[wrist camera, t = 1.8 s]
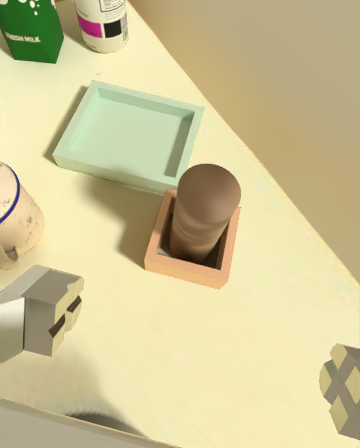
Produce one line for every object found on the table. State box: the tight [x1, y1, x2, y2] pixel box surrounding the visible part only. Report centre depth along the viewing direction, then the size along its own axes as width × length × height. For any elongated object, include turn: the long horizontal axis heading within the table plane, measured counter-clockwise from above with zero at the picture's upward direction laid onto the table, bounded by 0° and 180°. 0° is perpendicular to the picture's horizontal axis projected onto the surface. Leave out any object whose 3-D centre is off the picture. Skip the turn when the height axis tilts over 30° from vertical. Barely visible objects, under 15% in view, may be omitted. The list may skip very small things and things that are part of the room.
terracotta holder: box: [144, 188, 241, 289], centre depth 36 cm, size 10×10×4 cm
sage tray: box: [52, 80, 204, 194], centre depth 42 cm, size 18×15×3 cm
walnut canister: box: [169, 164, 241, 264], centre depth 31 cm, size 6×6×14 cm
